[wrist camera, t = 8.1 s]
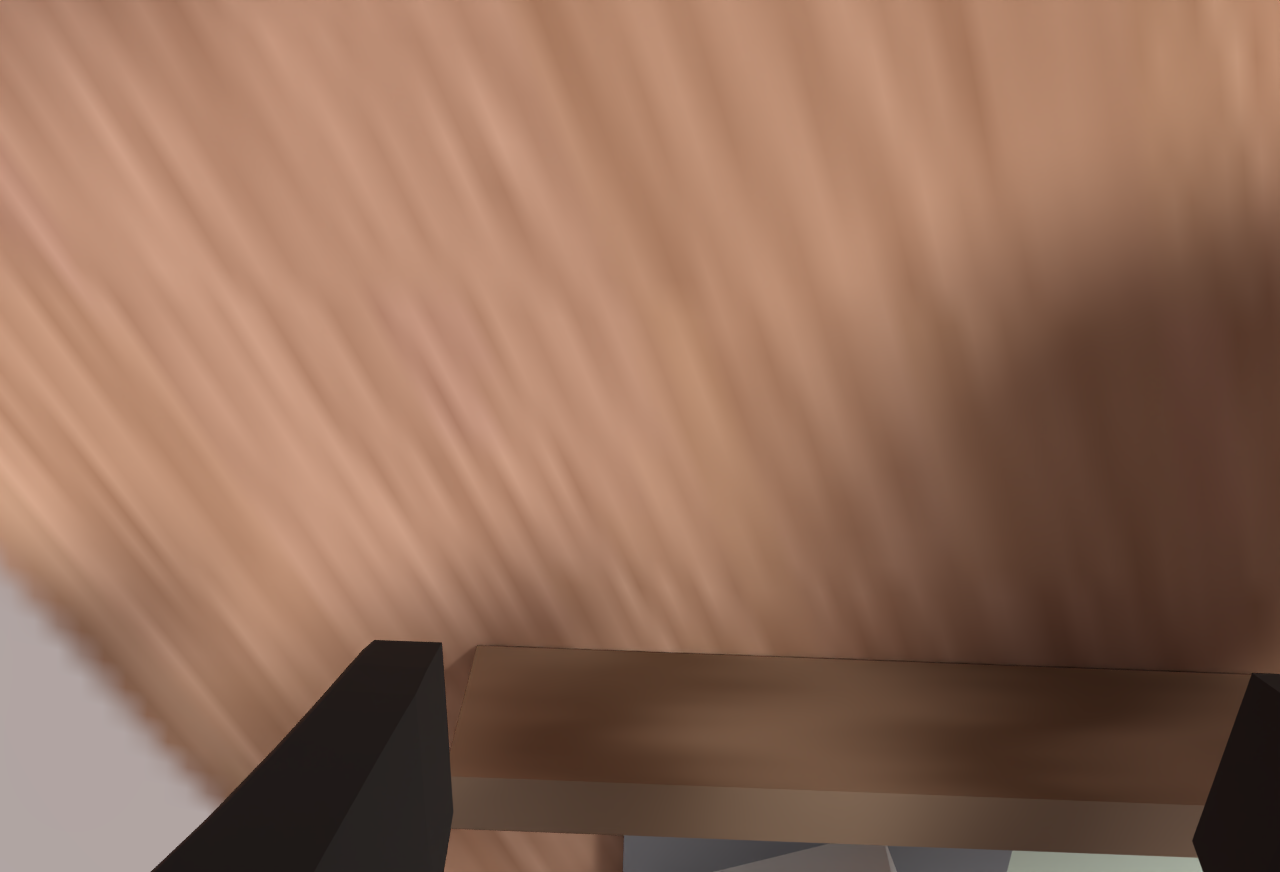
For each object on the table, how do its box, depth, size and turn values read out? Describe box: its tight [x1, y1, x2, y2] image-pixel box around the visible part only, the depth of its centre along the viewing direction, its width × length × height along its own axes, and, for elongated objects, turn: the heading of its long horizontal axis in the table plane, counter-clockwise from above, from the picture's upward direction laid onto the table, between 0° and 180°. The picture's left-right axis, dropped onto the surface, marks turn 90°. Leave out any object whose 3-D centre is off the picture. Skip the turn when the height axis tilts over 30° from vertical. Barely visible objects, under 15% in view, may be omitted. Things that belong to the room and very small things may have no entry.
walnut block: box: [449, 646, 1251, 858], centre depth 20 cm, size 20×1×4 cm, turn 88°
